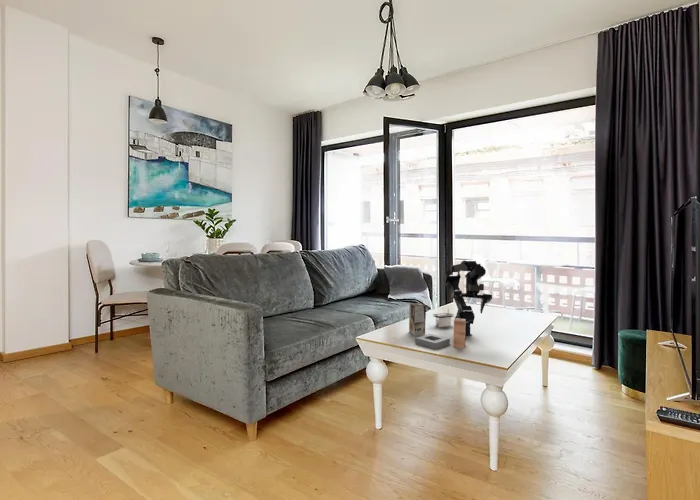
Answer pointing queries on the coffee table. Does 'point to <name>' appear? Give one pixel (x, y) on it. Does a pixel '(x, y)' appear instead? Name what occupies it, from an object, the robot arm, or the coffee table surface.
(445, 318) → the architectural model
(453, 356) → the coffee table surface
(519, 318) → the coffee table surface
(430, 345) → the socket block
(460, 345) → the peg
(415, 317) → the coffee box
